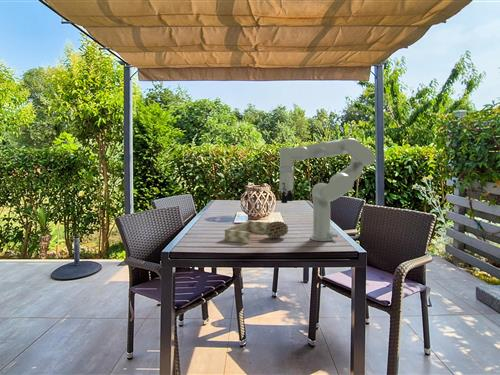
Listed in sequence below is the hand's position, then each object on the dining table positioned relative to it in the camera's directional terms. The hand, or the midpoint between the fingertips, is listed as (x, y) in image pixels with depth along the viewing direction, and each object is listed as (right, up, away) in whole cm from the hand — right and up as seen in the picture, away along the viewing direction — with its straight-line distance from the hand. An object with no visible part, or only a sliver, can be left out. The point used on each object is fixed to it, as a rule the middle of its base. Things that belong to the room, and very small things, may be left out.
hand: (287, 201), depth 178 cm
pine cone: (-9, -22, +7) cm, 25 cm away
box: (-21, -21, +13) cm, 32 cm away
